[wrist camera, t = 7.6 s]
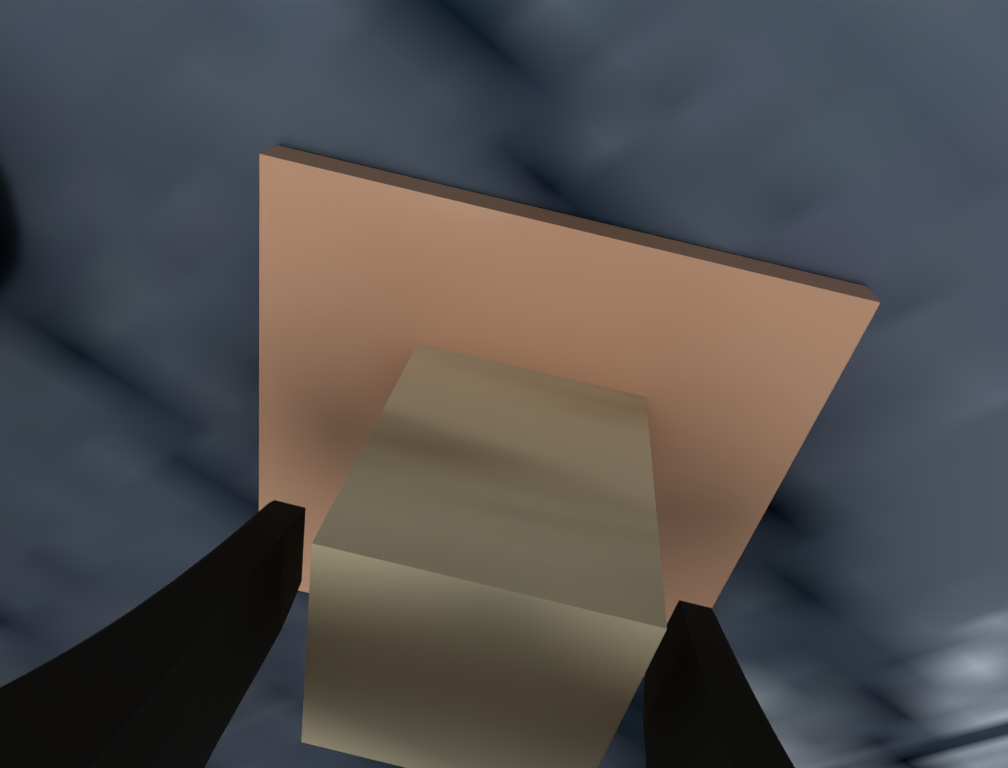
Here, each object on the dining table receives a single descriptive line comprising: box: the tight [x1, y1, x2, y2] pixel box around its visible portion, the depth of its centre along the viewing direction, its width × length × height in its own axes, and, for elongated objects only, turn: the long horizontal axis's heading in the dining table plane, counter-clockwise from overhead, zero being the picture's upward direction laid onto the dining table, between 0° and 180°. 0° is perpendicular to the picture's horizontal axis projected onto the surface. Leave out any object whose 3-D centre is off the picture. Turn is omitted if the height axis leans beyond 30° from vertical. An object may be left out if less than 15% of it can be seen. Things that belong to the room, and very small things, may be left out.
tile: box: [259, 145, 880, 676], centre depth 16 cm, size 12×12×1 cm
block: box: [302, 343, 667, 768], centre depth 13 cm, size 5×5×6 cm
